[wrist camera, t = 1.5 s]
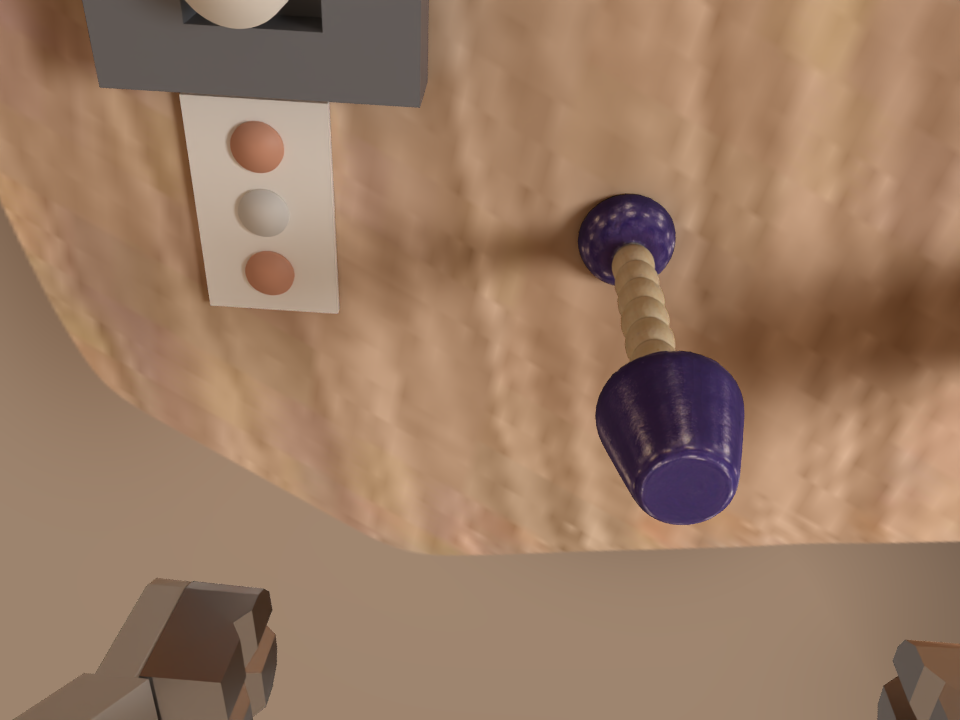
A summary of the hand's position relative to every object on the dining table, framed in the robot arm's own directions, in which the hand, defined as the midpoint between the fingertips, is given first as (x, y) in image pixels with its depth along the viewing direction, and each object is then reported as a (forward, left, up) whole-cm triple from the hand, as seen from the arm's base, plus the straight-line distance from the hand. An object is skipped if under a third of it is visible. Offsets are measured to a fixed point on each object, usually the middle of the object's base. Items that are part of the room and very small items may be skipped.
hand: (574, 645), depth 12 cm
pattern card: (+8, -11, -28) cm, 31 cm away
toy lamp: (+8, +5, -28) cm, 30 cm away
